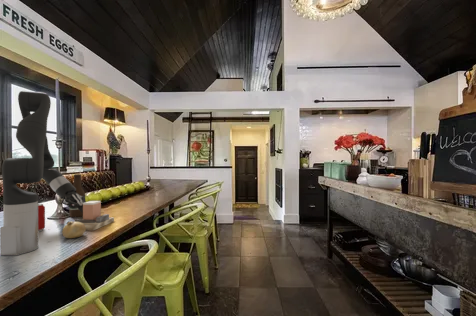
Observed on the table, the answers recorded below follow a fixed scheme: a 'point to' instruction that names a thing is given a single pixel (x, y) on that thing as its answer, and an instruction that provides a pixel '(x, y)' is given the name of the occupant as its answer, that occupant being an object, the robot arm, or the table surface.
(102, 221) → the console
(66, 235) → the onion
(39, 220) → the beverage can
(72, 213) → the beer bottle
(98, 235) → the table surface
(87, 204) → the pink box
